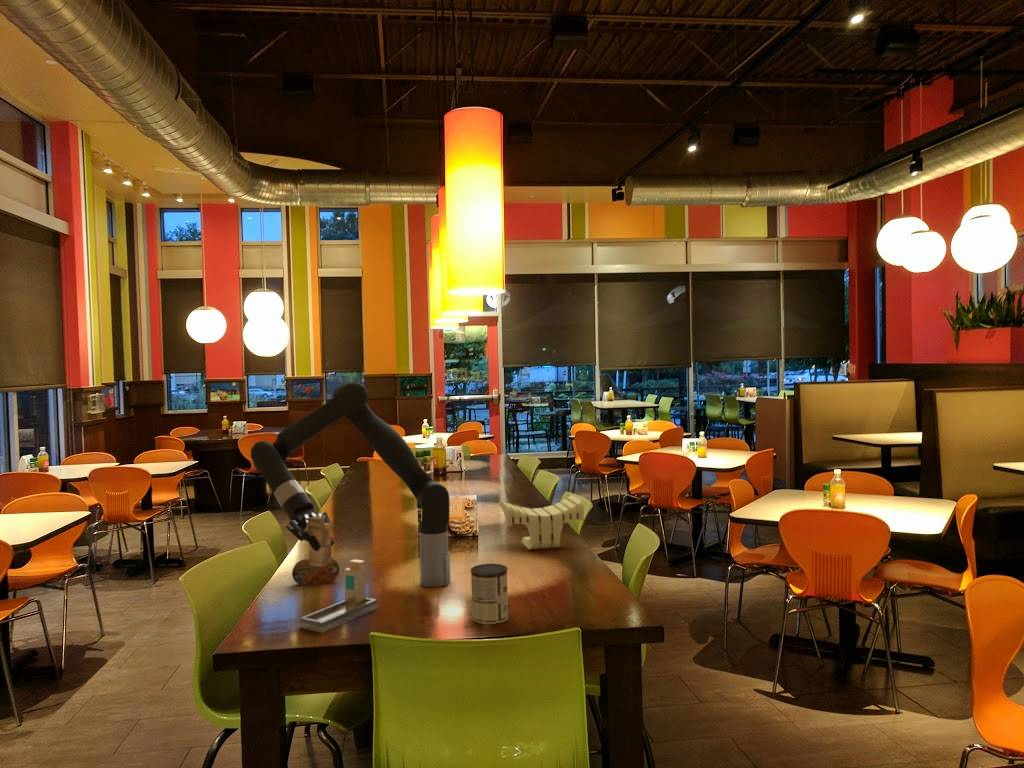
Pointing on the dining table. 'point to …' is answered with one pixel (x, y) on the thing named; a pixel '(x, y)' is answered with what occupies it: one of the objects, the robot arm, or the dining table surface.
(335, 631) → the dining table surface
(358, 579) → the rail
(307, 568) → the tin
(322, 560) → the maple finger
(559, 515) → the slatted curved stool
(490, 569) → the coffee can
